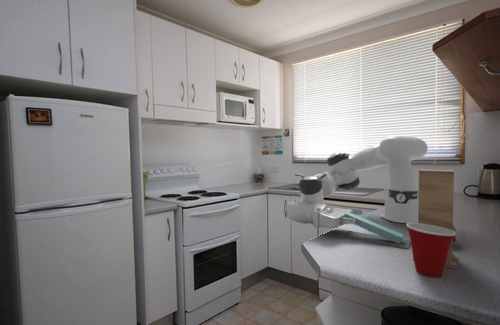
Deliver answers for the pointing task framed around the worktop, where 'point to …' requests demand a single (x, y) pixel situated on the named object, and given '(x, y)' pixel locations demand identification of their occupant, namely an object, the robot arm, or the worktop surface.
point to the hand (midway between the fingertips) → (358, 220)
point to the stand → (437, 203)
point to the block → (376, 228)
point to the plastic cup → (430, 247)
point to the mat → (375, 239)
